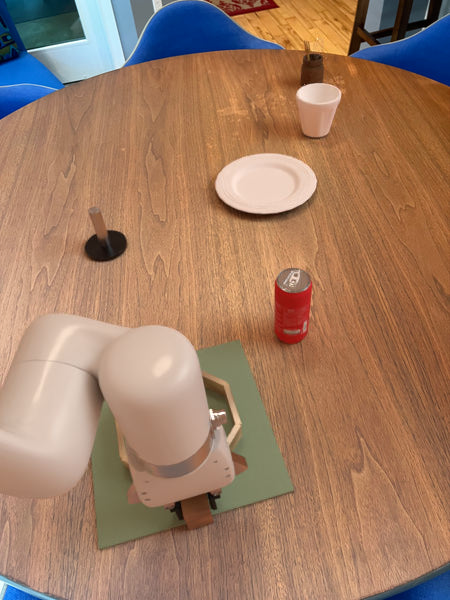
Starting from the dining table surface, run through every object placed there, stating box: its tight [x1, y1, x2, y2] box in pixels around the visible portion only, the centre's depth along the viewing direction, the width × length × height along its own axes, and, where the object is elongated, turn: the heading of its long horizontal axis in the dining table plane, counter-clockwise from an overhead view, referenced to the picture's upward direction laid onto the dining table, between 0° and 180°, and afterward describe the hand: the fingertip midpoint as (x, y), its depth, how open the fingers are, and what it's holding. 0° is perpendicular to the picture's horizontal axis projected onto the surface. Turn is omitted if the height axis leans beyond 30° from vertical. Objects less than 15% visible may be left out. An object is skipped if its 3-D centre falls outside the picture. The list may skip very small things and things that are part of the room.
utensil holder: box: [300, 37, 325, 87], centre depth 124 cm, size 6×6×12 cm
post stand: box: [84, 206, 128, 262], centre depth 88 cm, size 8×8×9 cm
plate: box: [214, 152, 318, 216], centre depth 99 cm, size 21×21×2 cm
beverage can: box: [273, 267, 313, 345], centre depth 70 cm, size 5×5×12 cm
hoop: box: [115, 370, 242, 531], centre depth 61 cm, size 16×21×5 cm
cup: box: [295, 82, 342, 139], centre depth 109 cm, size 10×10×9 cm
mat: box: [90, 338, 295, 551], centre depth 65 cm, size 24×24×1 cm
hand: (195, 501), depth 57 cm, fingers open, 3 cm apart
